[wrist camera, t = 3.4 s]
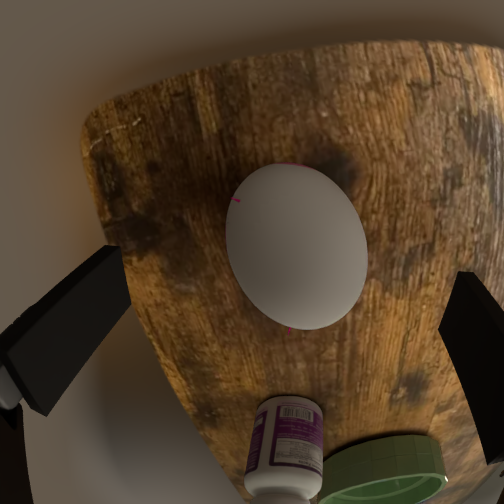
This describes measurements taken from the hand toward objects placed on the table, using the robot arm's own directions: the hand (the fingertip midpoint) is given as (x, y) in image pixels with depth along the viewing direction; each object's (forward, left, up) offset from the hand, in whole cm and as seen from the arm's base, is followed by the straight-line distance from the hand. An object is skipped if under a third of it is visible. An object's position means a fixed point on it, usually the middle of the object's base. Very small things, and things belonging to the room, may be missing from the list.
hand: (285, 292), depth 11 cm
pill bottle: (+1, -15, -6) cm, 16 cm away
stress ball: (0, 0, -6) cm, 6 cm away
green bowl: (+12, -25, -6) cm, 28 cm away
